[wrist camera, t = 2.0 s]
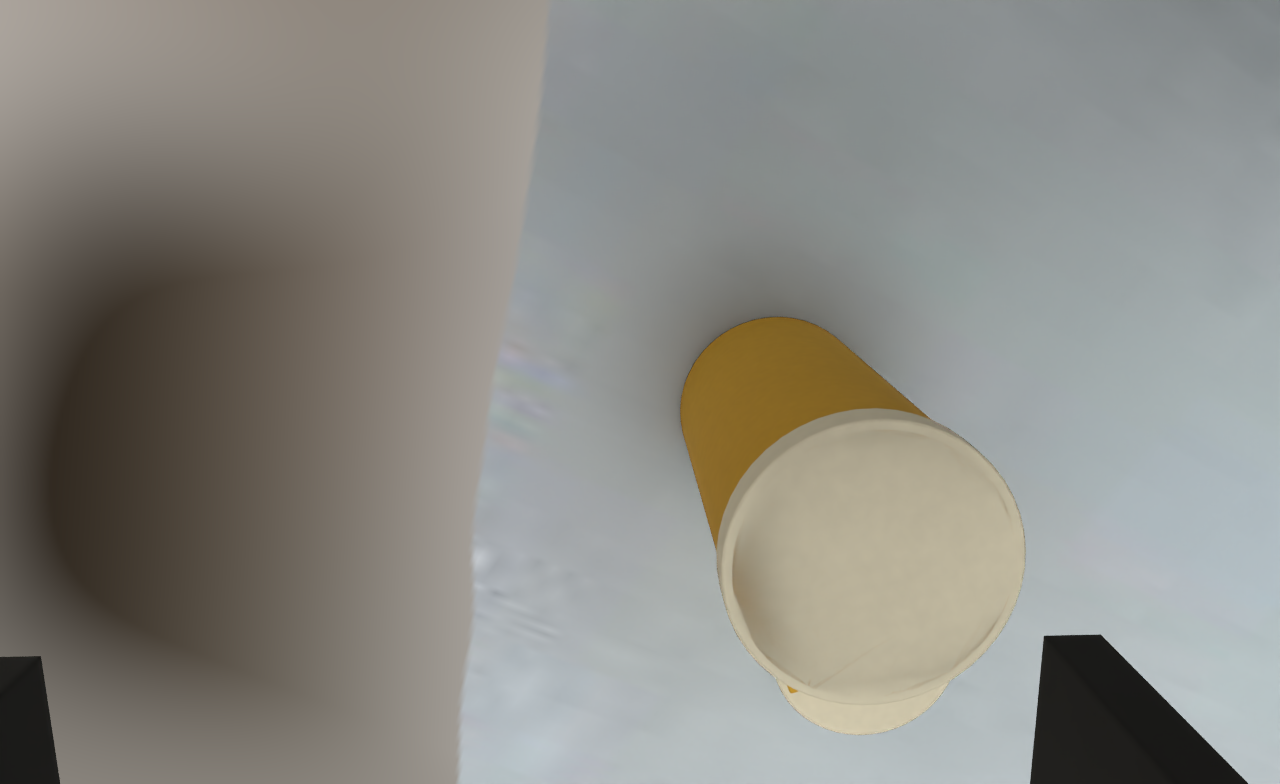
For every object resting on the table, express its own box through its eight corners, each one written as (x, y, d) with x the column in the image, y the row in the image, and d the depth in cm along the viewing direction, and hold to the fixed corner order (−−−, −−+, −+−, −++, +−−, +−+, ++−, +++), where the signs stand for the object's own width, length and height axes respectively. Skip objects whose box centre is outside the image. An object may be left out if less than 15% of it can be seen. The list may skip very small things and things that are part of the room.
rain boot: (647, 354, 37) (676, 485, 23) (835, 282, 36) (977, 372, 23) (791, 726, 40) (890, 1027, 27) (964, 663, 40) (1152, 937, 26)
